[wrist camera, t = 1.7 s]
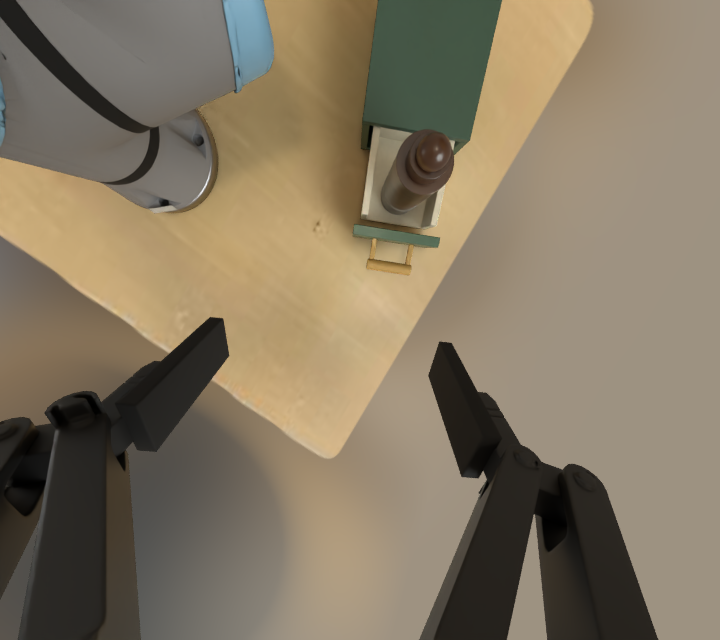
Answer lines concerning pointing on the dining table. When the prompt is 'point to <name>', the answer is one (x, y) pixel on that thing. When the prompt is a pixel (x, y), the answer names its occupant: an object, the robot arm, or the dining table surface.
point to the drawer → (372, 209)
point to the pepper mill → (417, 171)
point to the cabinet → (428, 66)
